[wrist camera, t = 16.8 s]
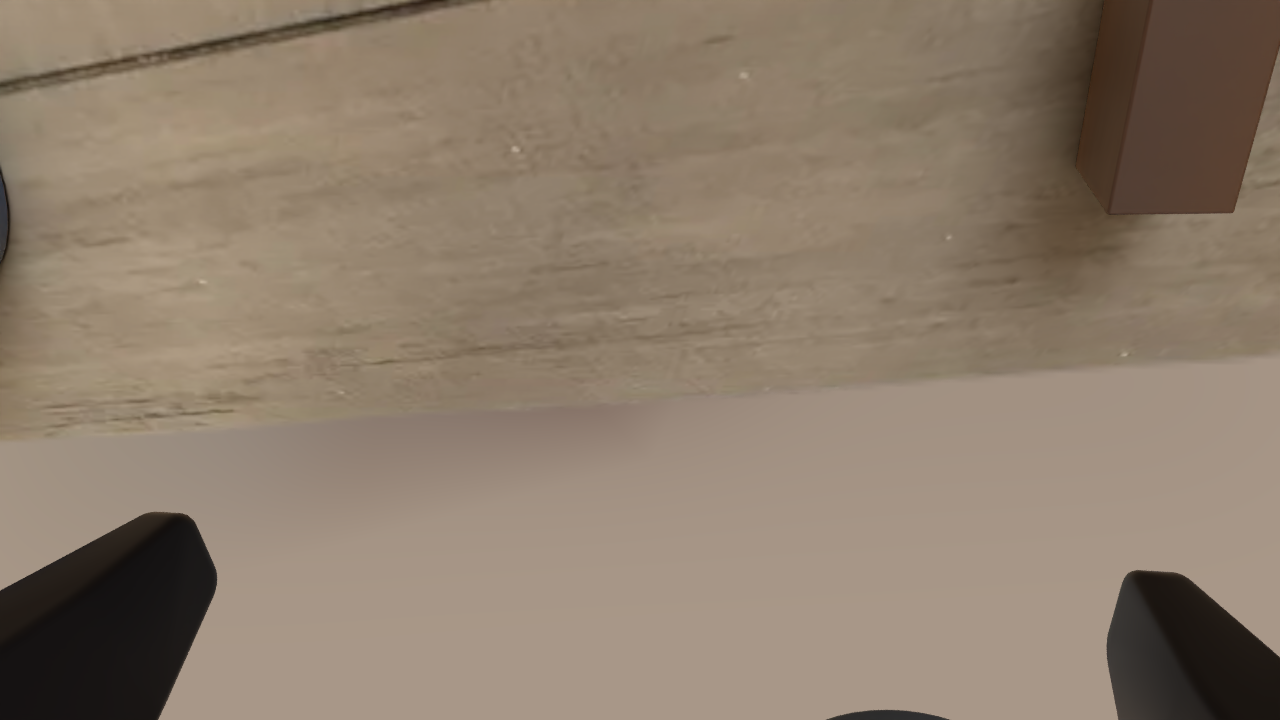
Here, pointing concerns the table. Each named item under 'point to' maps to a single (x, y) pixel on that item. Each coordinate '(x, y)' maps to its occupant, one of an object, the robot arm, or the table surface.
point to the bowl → (3, 219)
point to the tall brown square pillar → (1176, 103)
